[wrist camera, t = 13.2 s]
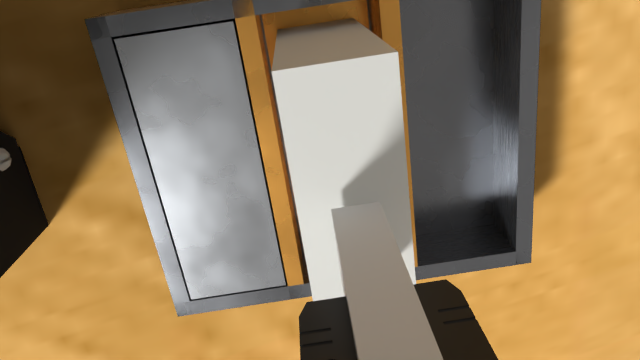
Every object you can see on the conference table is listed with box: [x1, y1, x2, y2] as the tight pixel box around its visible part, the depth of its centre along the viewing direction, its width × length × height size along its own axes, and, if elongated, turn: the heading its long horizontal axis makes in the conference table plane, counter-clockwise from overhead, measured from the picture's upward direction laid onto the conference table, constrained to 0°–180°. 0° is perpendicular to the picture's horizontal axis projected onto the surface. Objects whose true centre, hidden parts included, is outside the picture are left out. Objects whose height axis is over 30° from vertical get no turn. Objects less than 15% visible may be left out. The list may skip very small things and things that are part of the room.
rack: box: [85, 0, 541, 316], centre depth 24 cm, size 15×18×4 cm
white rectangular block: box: [272, 18, 416, 301], centre depth 20 cm, size 4×11×10 cm, turn 8°
